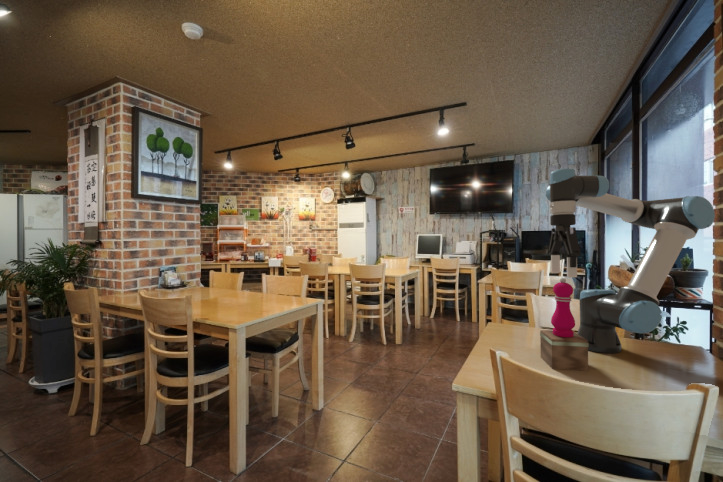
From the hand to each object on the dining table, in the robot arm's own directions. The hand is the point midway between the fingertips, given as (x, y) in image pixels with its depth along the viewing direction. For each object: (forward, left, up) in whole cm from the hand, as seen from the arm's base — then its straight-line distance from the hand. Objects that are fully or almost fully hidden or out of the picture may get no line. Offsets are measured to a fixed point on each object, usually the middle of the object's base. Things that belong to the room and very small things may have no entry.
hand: (563, 274), depth 116 cm
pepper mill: (0, 0, -21) cm, 21 cm away
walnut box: (0, 0, -31) cm, 31 cm away
